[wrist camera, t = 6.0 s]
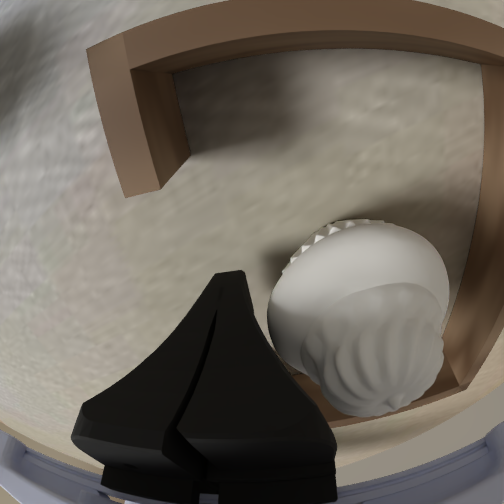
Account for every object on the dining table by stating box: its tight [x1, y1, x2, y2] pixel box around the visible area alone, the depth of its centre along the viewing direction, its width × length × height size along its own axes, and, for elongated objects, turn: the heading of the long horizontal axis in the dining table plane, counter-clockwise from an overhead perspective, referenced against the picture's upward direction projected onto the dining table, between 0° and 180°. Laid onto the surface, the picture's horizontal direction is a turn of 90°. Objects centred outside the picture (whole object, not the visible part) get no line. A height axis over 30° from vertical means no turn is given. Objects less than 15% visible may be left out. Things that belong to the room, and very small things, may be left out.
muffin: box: [267, 219, 449, 417], centre depth 9 cm, size 6×6×7 cm
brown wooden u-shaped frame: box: [86, 0, 504, 428], centre depth 10 cm, size 18×14×4 cm
